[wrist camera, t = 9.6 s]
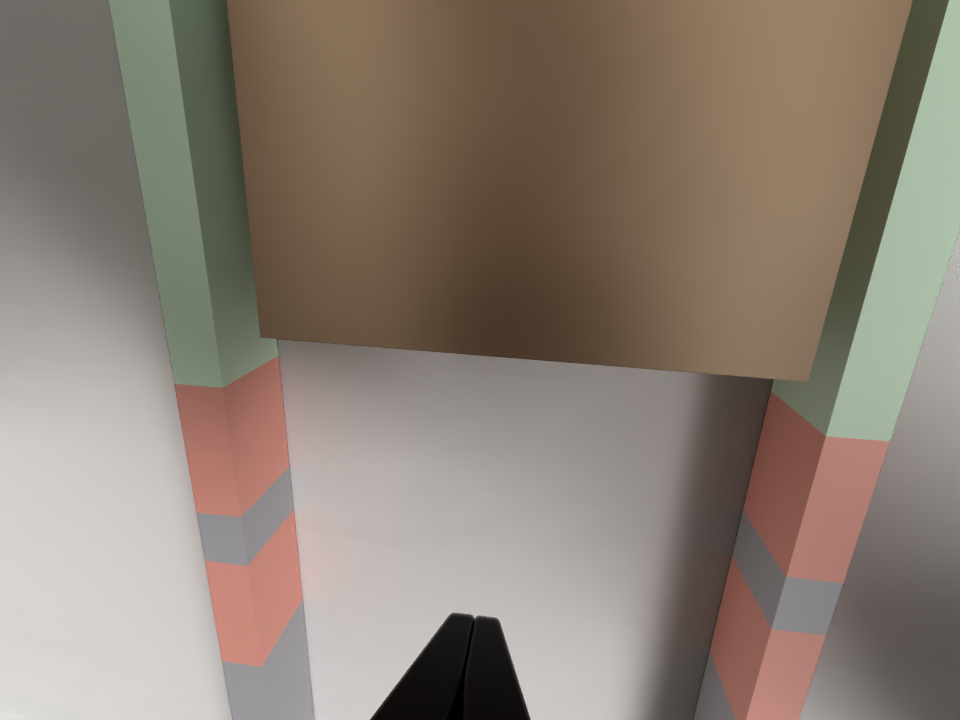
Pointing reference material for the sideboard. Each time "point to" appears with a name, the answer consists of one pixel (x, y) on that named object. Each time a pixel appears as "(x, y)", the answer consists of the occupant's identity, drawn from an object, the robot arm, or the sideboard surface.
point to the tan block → (559, 173)
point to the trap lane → (787, 424)
